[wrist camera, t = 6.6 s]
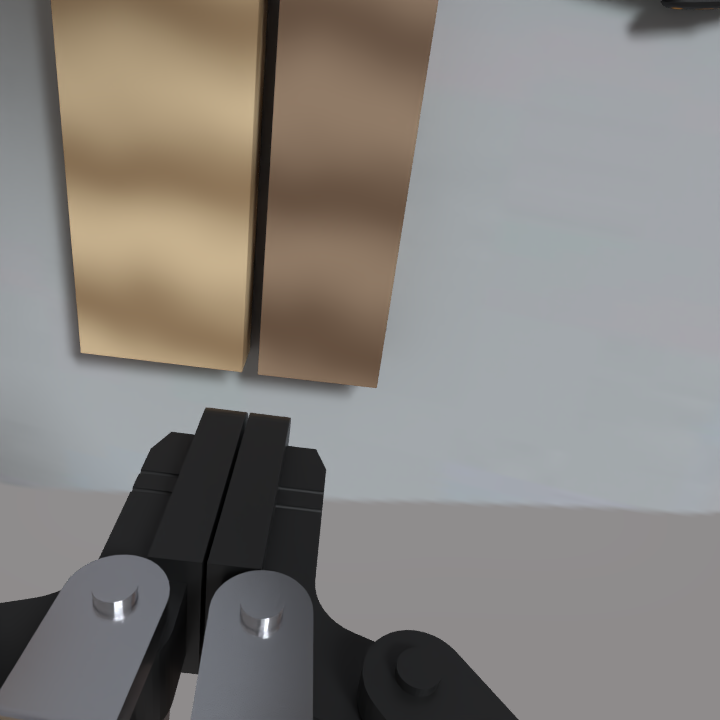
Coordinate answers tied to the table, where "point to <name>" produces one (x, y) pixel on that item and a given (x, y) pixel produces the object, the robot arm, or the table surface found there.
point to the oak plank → (162, 173)
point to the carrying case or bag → (692, 4)
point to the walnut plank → (339, 181)
